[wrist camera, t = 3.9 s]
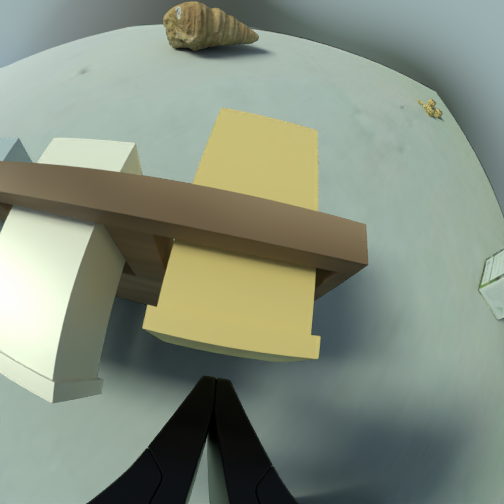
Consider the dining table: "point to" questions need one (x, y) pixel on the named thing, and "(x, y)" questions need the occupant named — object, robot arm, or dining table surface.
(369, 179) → the dining table surface
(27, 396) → the dining table surface
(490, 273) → the syrup box
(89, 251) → the middle button
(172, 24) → the seashell
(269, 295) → the right button
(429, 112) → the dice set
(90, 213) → the button board
